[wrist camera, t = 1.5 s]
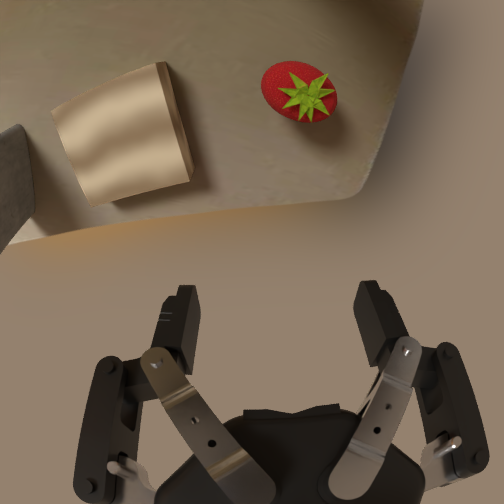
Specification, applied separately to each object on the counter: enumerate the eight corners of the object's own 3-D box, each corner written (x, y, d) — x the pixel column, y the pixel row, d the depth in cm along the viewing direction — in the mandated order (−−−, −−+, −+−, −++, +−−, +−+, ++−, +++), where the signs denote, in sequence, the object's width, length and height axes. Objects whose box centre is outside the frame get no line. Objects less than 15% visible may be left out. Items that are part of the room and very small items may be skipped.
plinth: (67, 103, 26) (50, 111, 23) (165, 61, 24) (155, 62, 21) (102, 192, 35) (91, 207, 32) (195, 167, 33) (189, 181, 30)
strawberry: (271, 50, 24) (283, 47, 17) (331, 79, 26) (365, 92, 19) (249, 94, 28) (251, 111, 20) (308, 121, 30) (332, 148, 22)
